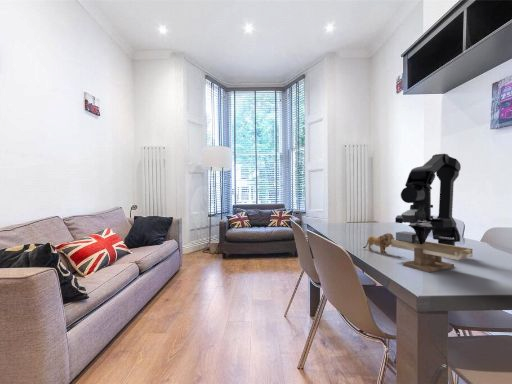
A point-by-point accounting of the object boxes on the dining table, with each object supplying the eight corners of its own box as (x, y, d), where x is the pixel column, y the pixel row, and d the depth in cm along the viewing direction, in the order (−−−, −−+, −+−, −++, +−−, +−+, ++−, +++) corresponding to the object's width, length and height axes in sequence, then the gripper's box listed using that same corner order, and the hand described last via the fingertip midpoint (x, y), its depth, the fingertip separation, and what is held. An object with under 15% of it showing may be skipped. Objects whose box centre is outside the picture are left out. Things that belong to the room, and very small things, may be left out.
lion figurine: (396, 253, 126) (396, 233, 126) (390, 255, 123) (390, 234, 122) (366, 248, 137) (365, 229, 137) (359, 249, 134) (359, 230, 134)
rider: (404, 242, 117) (404, 231, 117) (420, 245, 111) (420, 233, 111) (395, 243, 115) (395, 232, 115) (412, 246, 109) (412, 234, 109)
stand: (427, 260, 114) (427, 242, 113) (454, 266, 105) (454, 247, 104) (402, 265, 108) (402, 246, 107) (428, 272, 98) (428, 251, 98)
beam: (405, 244, 119) (405, 237, 119) (472, 256, 96) (472, 248, 96) (391, 246, 115) (390, 239, 115) (457, 259, 93) (457, 251, 93)
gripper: (385, 201, 113) (385, 242, 113) (432, 203, 96) (432, 251, 96) (404, 201, 118) (405, 239, 118) (453, 202, 101) (453, 247, 101)
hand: (421, 244), depth 108 cm, fingers closed
